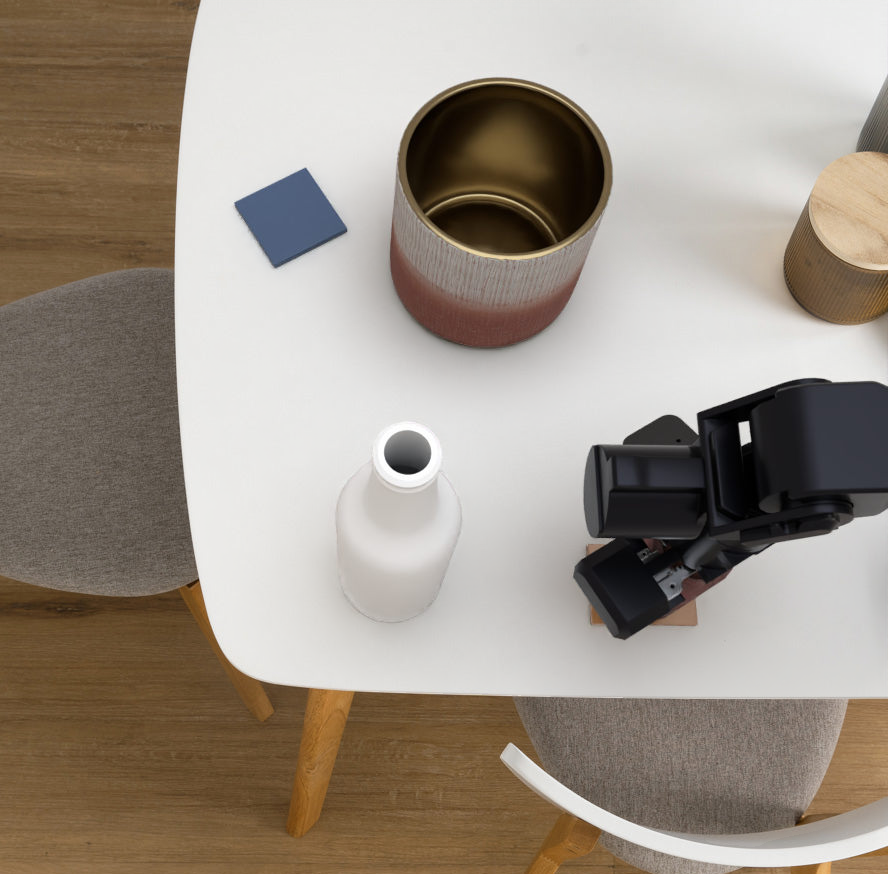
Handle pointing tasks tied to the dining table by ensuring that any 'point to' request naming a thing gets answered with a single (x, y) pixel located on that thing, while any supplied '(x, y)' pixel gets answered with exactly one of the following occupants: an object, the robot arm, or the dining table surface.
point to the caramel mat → (677, 618)
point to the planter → (496, 209)
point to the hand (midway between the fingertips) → (668, 564)
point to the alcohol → (397, 525)
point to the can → (691, 584)
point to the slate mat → (290, 217)
